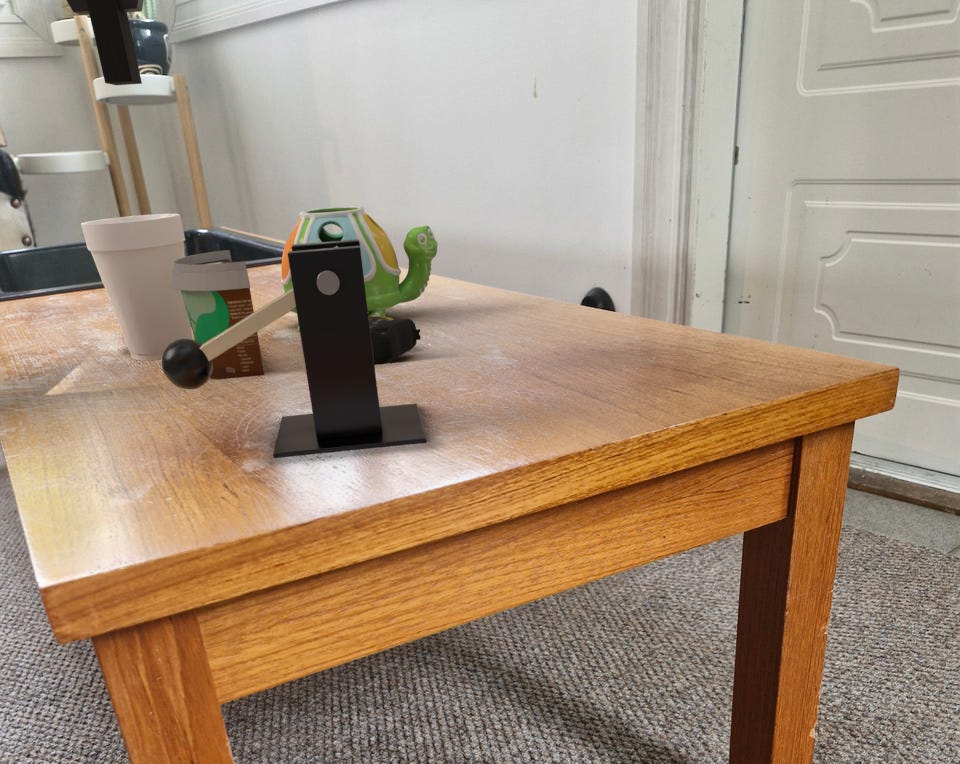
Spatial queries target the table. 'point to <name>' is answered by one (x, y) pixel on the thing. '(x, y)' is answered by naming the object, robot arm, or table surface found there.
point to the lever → (217, 345)
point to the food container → (219, 308)
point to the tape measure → (392, 337)
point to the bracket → (339, 360)
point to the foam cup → (141, 278)
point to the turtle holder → (369, 254)
